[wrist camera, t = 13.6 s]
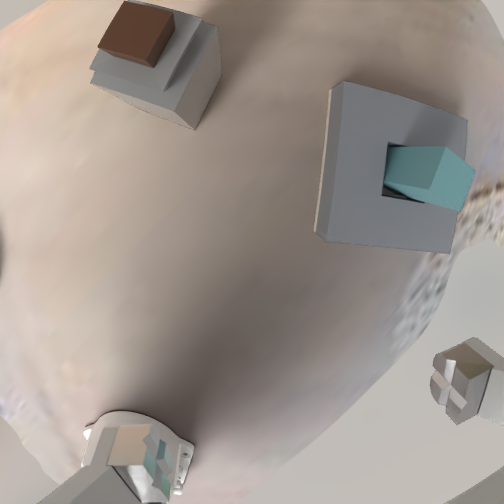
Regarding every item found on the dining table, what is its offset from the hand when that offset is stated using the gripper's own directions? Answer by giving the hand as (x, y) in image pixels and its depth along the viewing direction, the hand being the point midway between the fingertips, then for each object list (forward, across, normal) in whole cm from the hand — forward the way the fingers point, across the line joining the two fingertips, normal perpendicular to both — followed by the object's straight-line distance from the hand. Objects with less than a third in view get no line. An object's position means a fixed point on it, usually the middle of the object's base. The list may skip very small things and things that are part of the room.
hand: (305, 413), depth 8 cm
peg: (+27, -18, -3) cm, 32 cm away
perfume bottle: (+28, +3, -16) cm, 33 cm away
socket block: (+28, -18, -3) cm, 33 cm away
